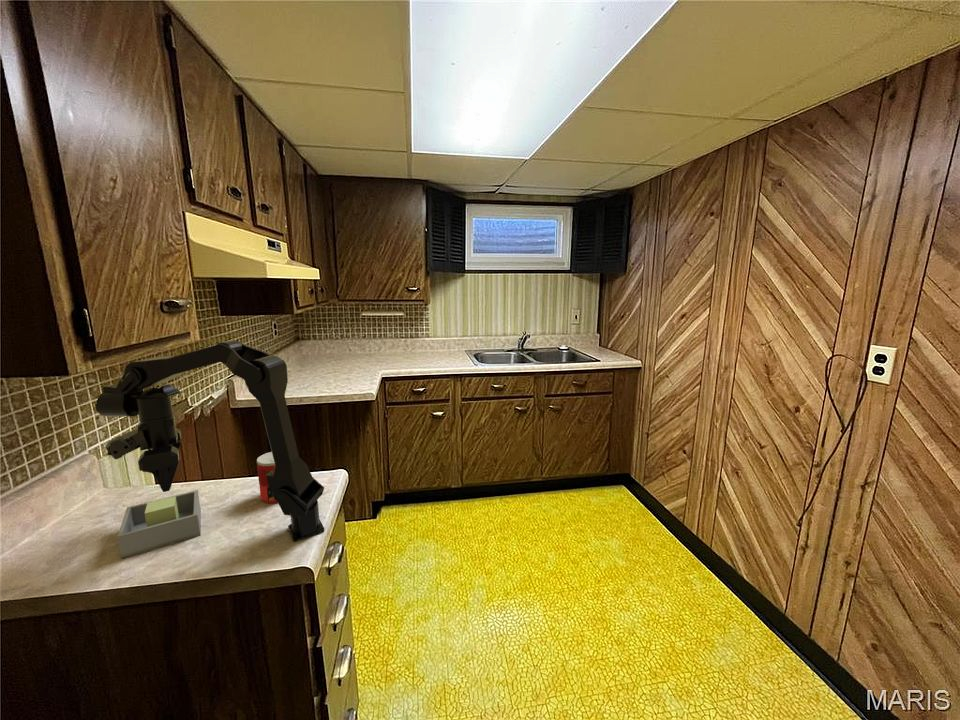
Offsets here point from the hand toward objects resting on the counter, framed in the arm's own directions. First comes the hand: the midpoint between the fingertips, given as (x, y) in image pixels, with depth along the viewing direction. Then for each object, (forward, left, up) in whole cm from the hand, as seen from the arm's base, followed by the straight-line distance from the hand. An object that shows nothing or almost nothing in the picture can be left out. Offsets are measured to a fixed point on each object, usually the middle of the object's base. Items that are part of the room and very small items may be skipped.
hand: (167, 482), depth 86 cm
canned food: (+1, -21, -11) cm, 24 cm away
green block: (-1, +2, -10) cm, 10 cm away
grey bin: (-1, +2, -11) cm, 11 cm away
